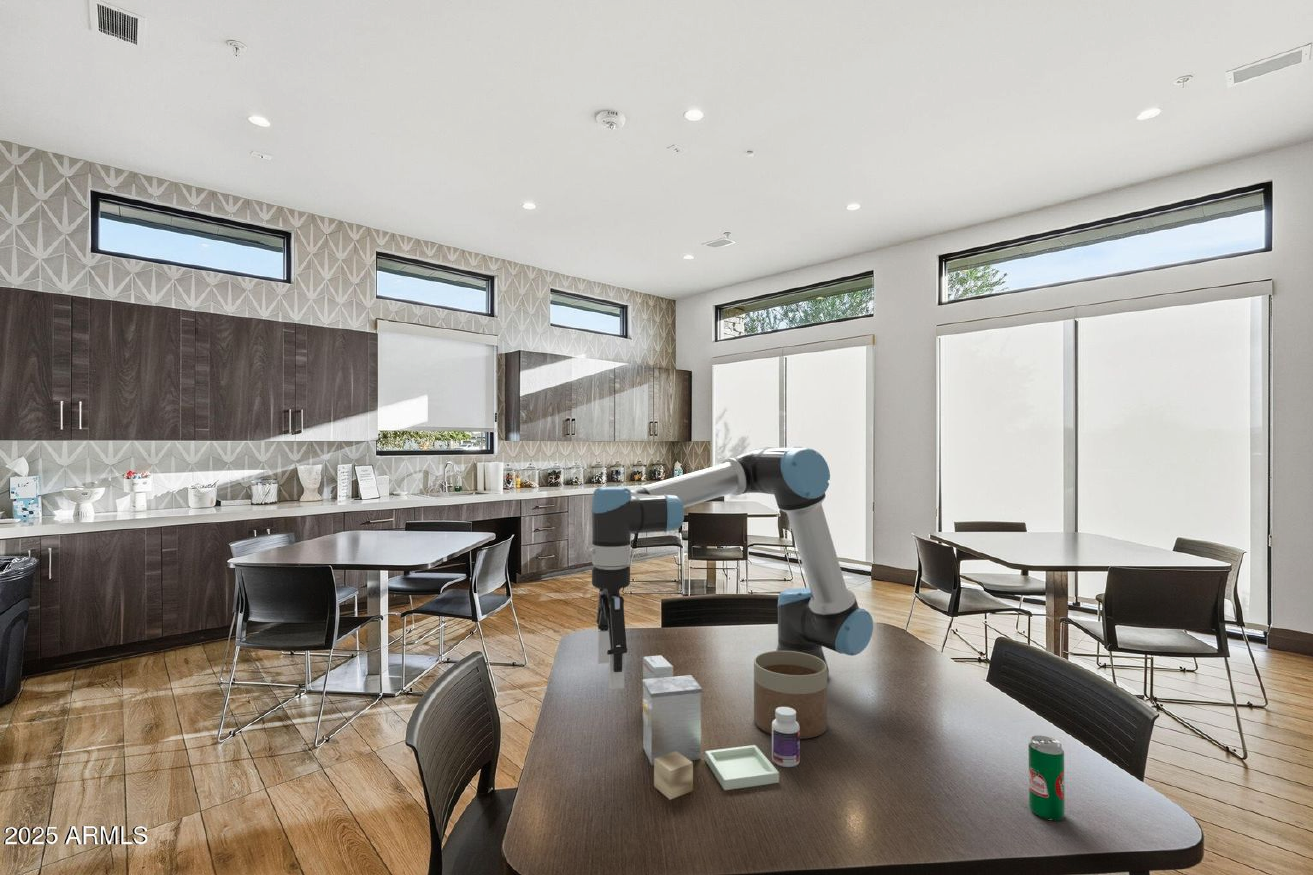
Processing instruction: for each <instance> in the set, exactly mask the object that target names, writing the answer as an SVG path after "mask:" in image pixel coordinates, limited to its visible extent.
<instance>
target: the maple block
mask: <svg viewBox="0 0 1313 875" xmlns="http://www.w3.org/2000/svg"><path fill="white" fill-rule="evenodd" d="M653 787H655V789H657V790H658V791H659V792H661V794H663V795H664V796H665V797H666V798H667V799H668V800H673V799H676V798H678V797H680V796H683V795H686V794H688V793H691V792H693V791H694V762H693V761H692V760H688V759H687V758H685V757H684V756H683V755H681V754H680V753H678V752H677V751H676V752H673V753H670V754H667V755H664V756H661V757H658V758H655V759H654V765H653Z"/></svg>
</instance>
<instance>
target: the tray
mask: <svg viewBox="0 0 1313 875" xmlns="http://www.w3.org/2000/svg"><path fill="white" fill-rule="evenodd" d="M704 753H705V754H704V756H705V759H704V761H705V762H706V764H707V766H708V767H709V769H710V770H711V772H712V773H713V775H714V776H715V778H716V779H717V781H718V783H719V784H720V785H721V788H722V789H723V791H729V790H735V789H737V790H738V789H743V788H753V787H757V786H758V787H759V786H765V785H771V784H777V783H778V784H779V783H780V772H779V771H778V770H777V768H776V767H775V766H774V765H773V764H772V763H771V761H770V760H769V758H767V757H766V755H765V754H764V753H763V751H762V750H760V748H759V747H758V746H757V745H756V744H752V745H745V746H743V745H742V746H735V747H728V748H719V749H711V750H705V751H704Z"/></svg>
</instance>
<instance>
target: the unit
mask: <svg viewBox="0 0 1313 875" xmlns="http://www.w3.org/2000/svg"><path fill="white" fill-rule="evenodd" d="M641 682H642V686H643V685H644V699H643V698H642V718H643V719H642V720H643V721H642V722H643V723H642V724H643V725H642V726H643V728H642V731H643V733H642V735H643V736H642V738H643V742H642V743H643V744H642V745H643V747H642V748H643V750H644V752H645V755H646V757H647V759H648V761H649V763H650V765H651V766H654V759H655V758H658V757H661V756H664V755H667V754H670V753H673V752H676V751H677V752H678V753H680V754H681V755H683V756H684V757H685V758H687V759H688V760H690V761H696V760H701V759H702V757H701V756H702V747H701V746H702V693H703V688H702V687H701V685H700V684H699V682H698V681H697V680H696V679H695V677H693V675H692V674H688V675H678V676H677V675H676V676H675V675H673V677H663V678H652V679H643V678H642V681H641Z"/></svg>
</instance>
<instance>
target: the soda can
mask: <svg viewBox="0 0 1313 875" xmlns="http://www.w3.org/2000/svg"><path fill="white" fill-rule="evenodd" d="M1027 746H1028V750H1027V751H1028V807H1029V808H1030V810H1031V812H1033V813H1034V814H1035V816H1037V815H1038V816H1037V817H1039V816H1040V817H1039V818H1041V817H1042V819H1044V818H1045V819H1044V820H1047V819H1052V820H1058V821H1061V820H1062V819H1063V818H1065V815H1066V813H1065V811H1066V804H1065V802H1066V801H1065V800H1066V798H1065V796H1066V795H1065V792H1066V791H1065V790H1066V789H1065V788H1066V787H1065V750H1064V749H1063V748H1062V743H1061V742H1060V741H1058V740H1057V739H1055V738H1052V737H1049V736H1046V735H1033V736H1031V737H1030V740H1029V742H1028V744H1027ZM1060 819H1061V820H1060Z"/></svg>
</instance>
